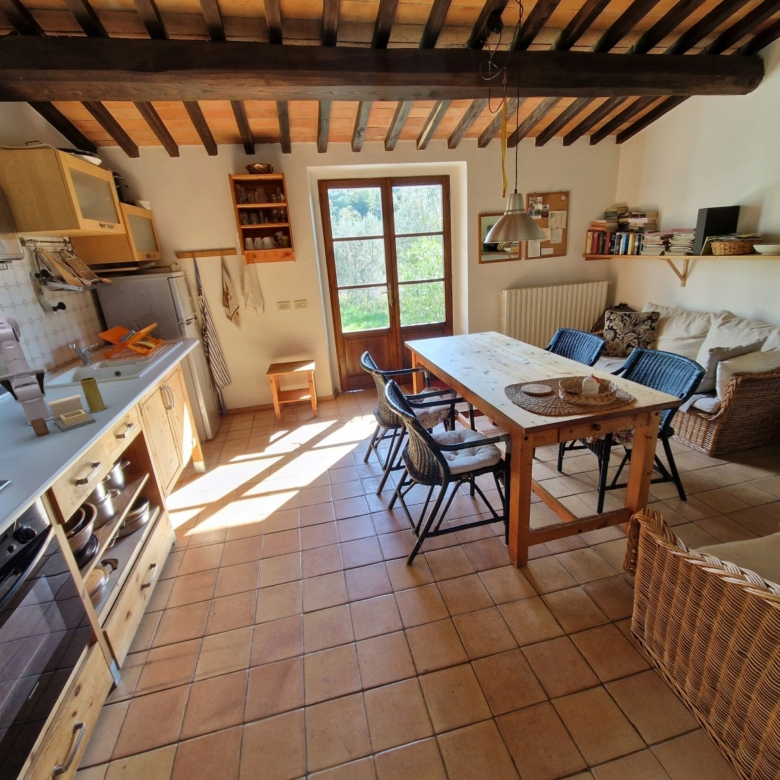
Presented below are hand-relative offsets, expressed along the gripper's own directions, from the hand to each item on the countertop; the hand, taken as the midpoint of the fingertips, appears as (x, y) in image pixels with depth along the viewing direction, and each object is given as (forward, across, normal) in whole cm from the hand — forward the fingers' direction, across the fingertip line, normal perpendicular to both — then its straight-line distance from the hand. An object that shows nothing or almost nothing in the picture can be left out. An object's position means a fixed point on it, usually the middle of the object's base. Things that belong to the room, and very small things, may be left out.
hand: (30, 396), depth 150 cm
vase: (+10, +21, +20) cm, 31 cm away
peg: (+14, 0, +10) cm, 17 cm away
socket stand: (+13, +11, +12) cm, 21 cm away
